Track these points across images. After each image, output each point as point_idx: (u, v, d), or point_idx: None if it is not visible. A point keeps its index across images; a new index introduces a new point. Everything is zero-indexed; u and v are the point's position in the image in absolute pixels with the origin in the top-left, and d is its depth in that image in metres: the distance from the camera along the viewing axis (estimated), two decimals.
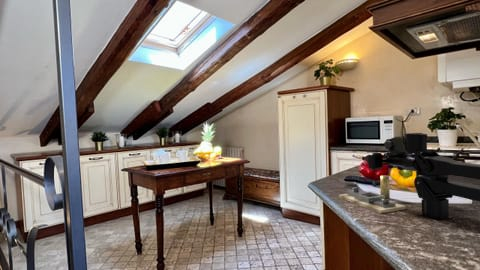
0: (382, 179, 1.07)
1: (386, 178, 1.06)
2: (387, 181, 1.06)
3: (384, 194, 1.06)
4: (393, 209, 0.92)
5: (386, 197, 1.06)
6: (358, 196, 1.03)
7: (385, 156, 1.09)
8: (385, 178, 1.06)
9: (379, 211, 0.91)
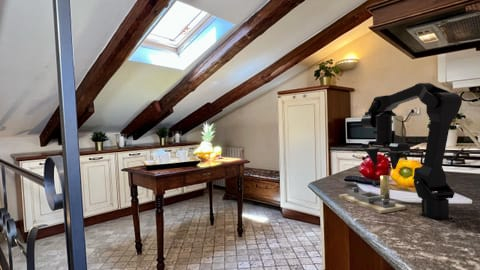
0: (382, 179, 1.07)
1: (386, 178, 1.06)
2: (387, 181, 1.06)
3: (384, 194, 1.06)
4: (393, 209, 0.92)
5: (386, 197, 1.06)
6: (358, 196, 1.03)
7: None
8: (385, 178, 1.06)
9: (379, 211, 0.91)
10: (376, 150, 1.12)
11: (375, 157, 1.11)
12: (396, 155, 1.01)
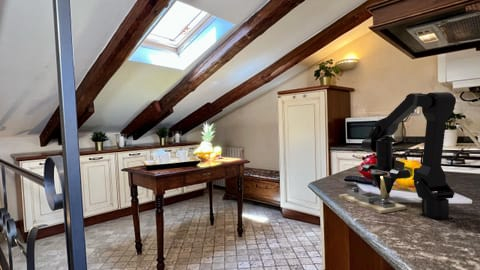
0: (382, 179, 1.07)
1: None
2: None
3: (384, 194, 1.06)
4: (393, 209, 0.92)
5: (386, 197, 1.06)
6: (358, 196, 1.03)
7: None
8: None
9: (379, 211, 0.91)
10: None
11: None
12: (390, 180, 1.05)
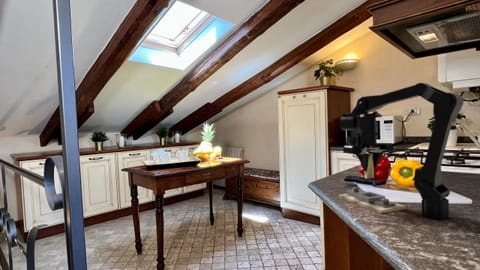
0: (372, 157, 1.01)
1: None
2: None
3: (373, 172, 1.02)
4: (393, 209, 0.92)
5: None
6: (358, 196, 1.03)
7: None
8: None
9: (379, 211, 0.91)
10: None
11: None
12: None
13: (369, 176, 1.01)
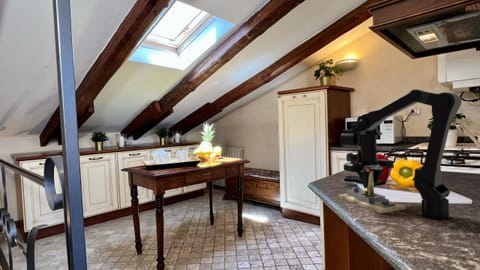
0: (372, 174, 1.01)
1: None
2: None
3: (373, 189, 1.02)
4: (393, 209, 0.92)
5: None
6: (358, 196, 1.03)
7: None
8: (373, 172, 1.02)
9: (379, 211, 0.91)
10: None
11: None
12: None
13: (369, 193, 1.01)
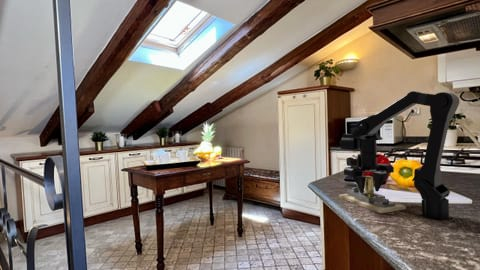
0: (372, 180, 1.01)
1: None
2: None
3: (373, 195, 1.02)
4: (393, 209, 0.92)
5: None
6: (358, 196, 1.03)
7: (375, 187, 1.04)
8: (373, 178, 1.02)
9: (379, 211, 0.91)
10: None
11: None
12: None
13: None
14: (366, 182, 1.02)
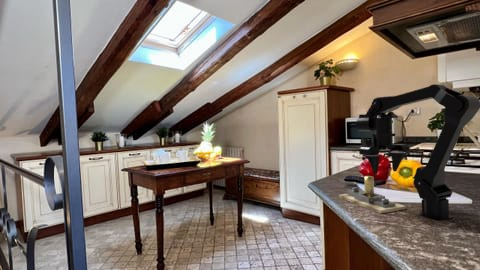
0: (372, 180, 1.01)
1: None
2: None
3: (373, 195, 1.02)
4: (393, 209, 0.92)
5: None
6: (358, 196, 1.03)
7: (393, 167, 1.02)
8: (373, 178, 1.02)
9: (379, 211, 0.91)
10: None
11: None
12: None
13: None
14: (366, 182, 1.02)
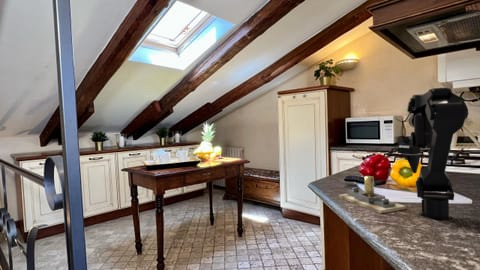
0: (372, 180, 1.01)
1: None
2: None
3: (373, 195, 1.02)
4: (393, 209, 0.92)
5: None
6: (358, 196, 1.03)
7: None
8: (373, 178, 1.02)
9: (379, 211, 0.91)
10: None
11: None
12: None
13: None
14: (366, 182, 1.02)
